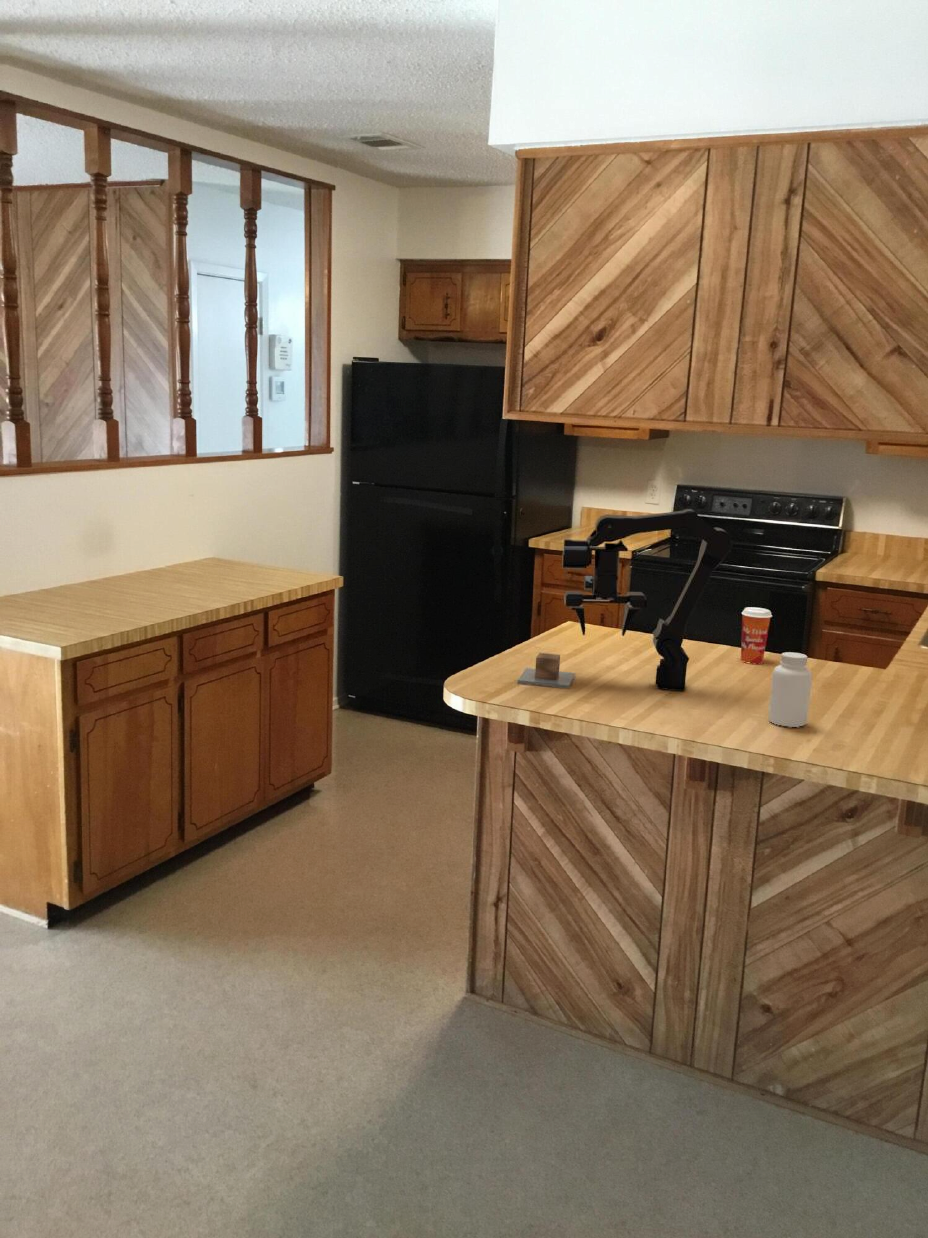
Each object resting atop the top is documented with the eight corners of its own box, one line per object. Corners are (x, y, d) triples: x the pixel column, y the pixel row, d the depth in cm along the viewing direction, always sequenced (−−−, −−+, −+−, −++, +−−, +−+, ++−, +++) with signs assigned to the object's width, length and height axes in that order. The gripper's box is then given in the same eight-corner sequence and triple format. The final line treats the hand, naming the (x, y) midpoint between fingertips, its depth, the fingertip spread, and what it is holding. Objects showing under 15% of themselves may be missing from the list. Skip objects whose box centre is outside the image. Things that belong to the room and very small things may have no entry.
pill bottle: (776, 715, 235) (784, 648, 232) (812, 723, 231) (820, 655, 227) (761, 722, 229) (769, 654, 226) (797, 731, 224) (805, 661, 221)
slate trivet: (574, 676, 260) (575, 673, 259) (568, 688, 248) (569, 685, 248) (525, 671, 262) (526, 668, 262) (517, 683, 251) (517, 680, 250)
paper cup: (735, 663, 281) (741, 610, 278) (737, 656, 288) (742, 605, 285) (766, 666, 279) (772, 613, 276) (767, 660, 286) (773, 608, 283)
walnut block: (558, 675, 257) (560, 654, 256) (555, 680, 252) (557, 659, 251) (538, 672, 258) (539, 652, 257) (534, 678, 253) (536, 657, 252)
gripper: (641, 564, 257) (637, 628, 260) (563, 563, 257) (560, 627, 260) (648, 572, 246) (645, 638, 250) (567, 571, 246) (564, 637, 250)
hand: (603, 635), depth 253 cm, fingers open, 9 cm apart
